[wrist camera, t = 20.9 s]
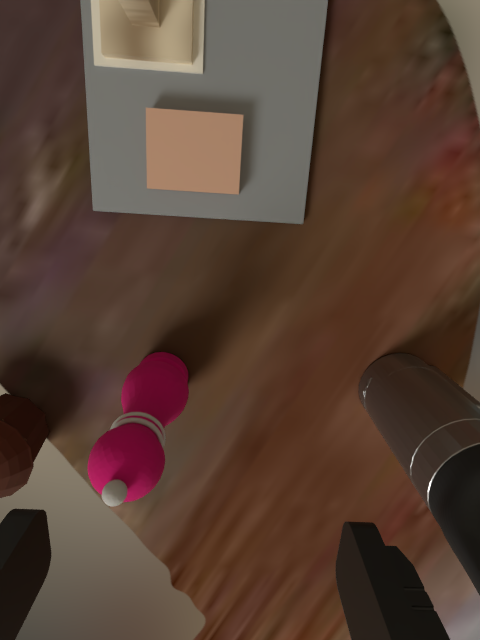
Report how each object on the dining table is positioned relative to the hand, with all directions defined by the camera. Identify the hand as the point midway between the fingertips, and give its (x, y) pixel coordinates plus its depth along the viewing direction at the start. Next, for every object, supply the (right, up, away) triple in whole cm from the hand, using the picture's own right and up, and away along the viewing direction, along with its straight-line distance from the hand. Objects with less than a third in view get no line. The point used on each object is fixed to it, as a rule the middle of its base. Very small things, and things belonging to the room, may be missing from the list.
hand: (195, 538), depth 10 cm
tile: (-8, +22, +25) cm, 35 cm away
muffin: (-28, -7, +37) cm, 47 cm away
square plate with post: (-7, +33, +23) cm, 41 cm away
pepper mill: (-8, -1, +35) cm, 36 cm away
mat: (-2, +28, +26) cm, 38 cm away
